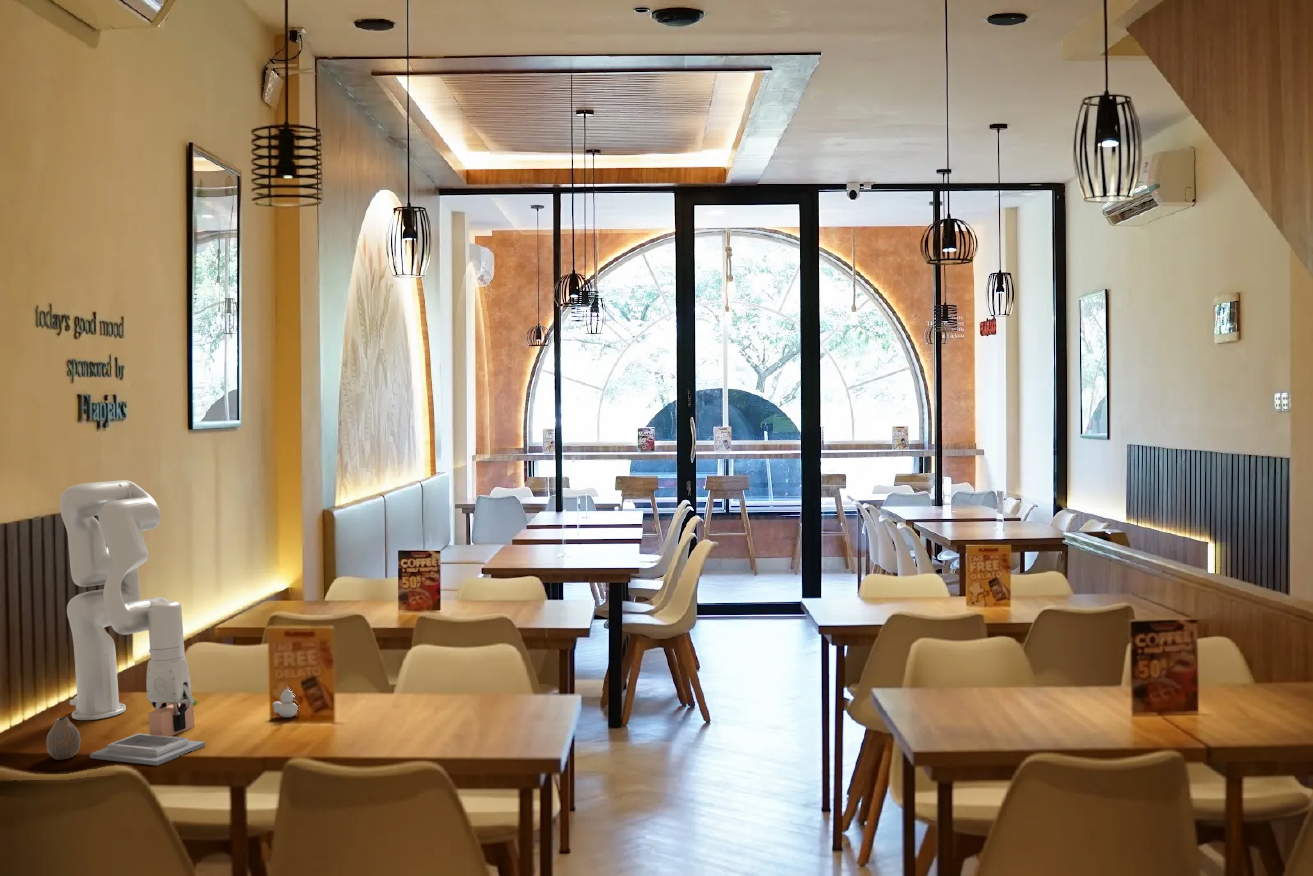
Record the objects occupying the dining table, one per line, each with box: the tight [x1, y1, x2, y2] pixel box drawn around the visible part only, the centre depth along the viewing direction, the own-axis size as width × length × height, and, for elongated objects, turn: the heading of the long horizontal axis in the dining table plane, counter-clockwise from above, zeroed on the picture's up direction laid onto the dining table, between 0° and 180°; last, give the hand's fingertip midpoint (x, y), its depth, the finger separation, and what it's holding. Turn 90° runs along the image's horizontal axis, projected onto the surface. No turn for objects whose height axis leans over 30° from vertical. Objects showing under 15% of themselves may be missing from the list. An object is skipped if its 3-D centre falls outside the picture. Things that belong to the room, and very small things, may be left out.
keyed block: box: [147, 703, 195, 736], centre depth 281 cm, size 4×10×6 cm, turn 157°
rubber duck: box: [272, 686, 298, 718], centre depth 290 cm, size 5×7×8 cm
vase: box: [46, 716, 82, 761], centre depth 265 cm, size 7×7×9 cm
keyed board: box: [89, 732, 206, 766], centre depth 265 cm, size 20×14×2 cm
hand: (172, 728), depth 281 cm, fingers closed on keyed block, 4 cm apart
